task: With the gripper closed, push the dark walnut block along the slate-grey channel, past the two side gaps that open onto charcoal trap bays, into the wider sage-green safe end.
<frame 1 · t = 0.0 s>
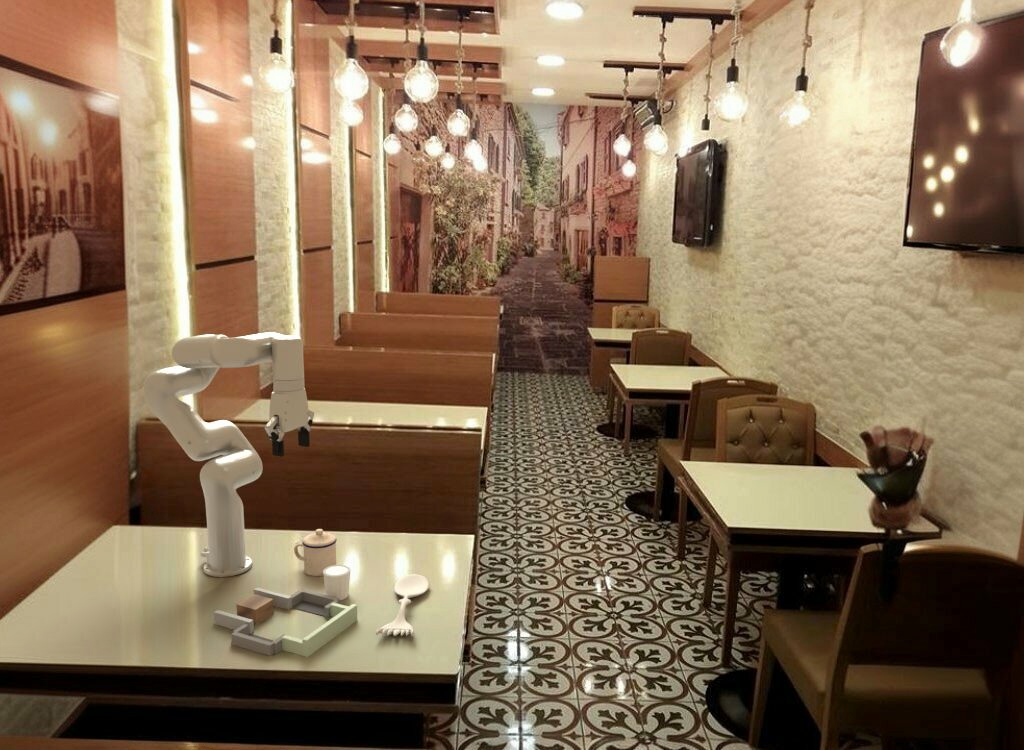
hand: (291, 450, 199), 37 cm above the table, tool pointing down, fingers open, 9 cm apart
shot glass: (337, 596, 201), on the table
spoon: (405, 612, 194), on the table
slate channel: (281, 623, 186), on the table
teacup with lid: (315, 570, 216), on the table
trap bays: (281, 623, 186), on the table
walnut block: (255, 617, 190), on the table
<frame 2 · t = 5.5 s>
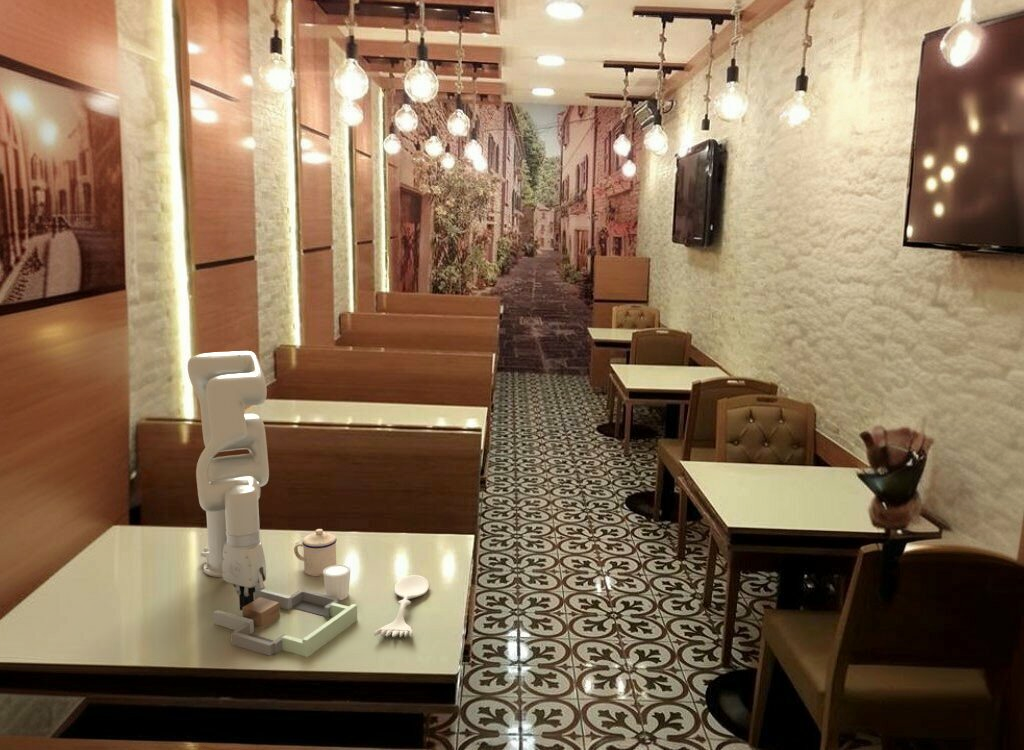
hand: (247, 608, 190), 1 cm above the table, tool pointing down, fingers closed
walnut block: (261, 620, 188), on the table, touching gripper
everything else where it was.
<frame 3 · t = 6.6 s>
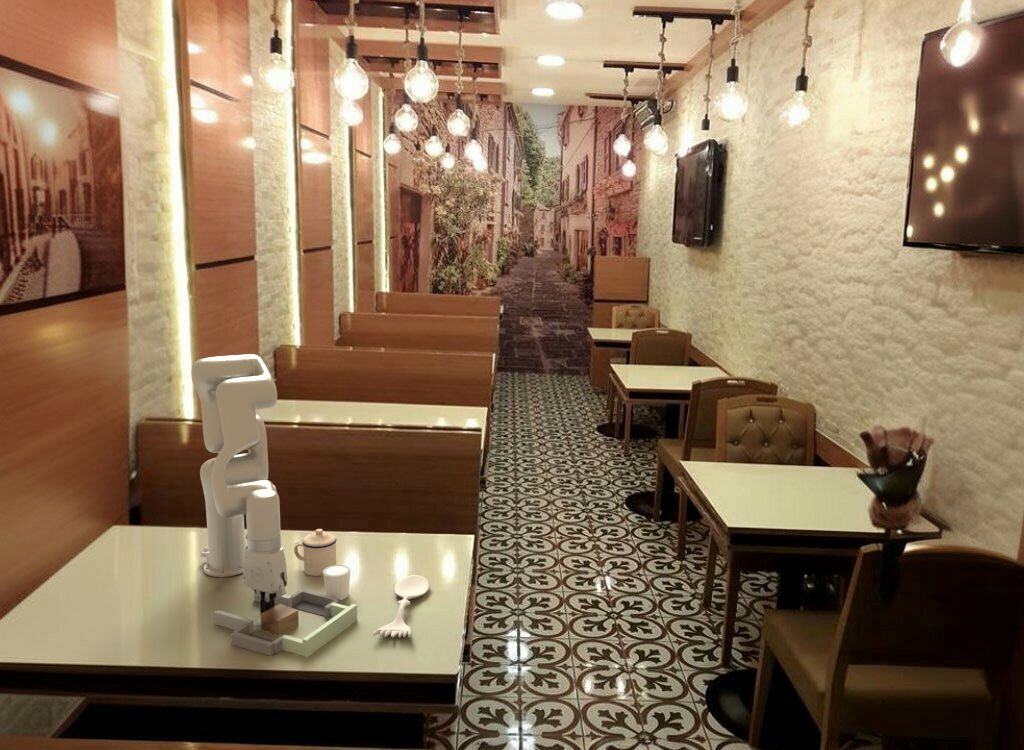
hand: (267, 614, 188), 1 cm above the table, tool pointing down, fingers closed
walnut block: (280, 627, 185), on the table, touching gripper
everything else where it was.
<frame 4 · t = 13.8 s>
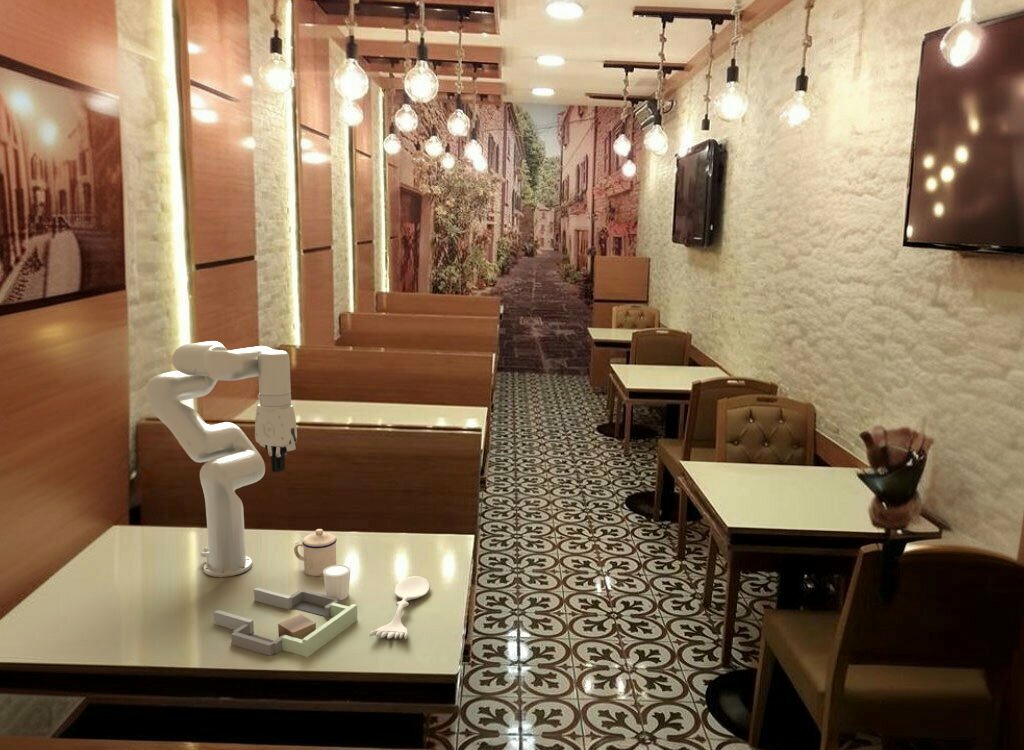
hand: (278, 470, 198), 32 cm above the table, tool pointing down, fingers closed
walnut block: (297, 639, 180), on the table
at the end: walnut block inside the target area (4.2 cm from its centre), on the table; walnut block tilted 0°; walnut block touching table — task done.
